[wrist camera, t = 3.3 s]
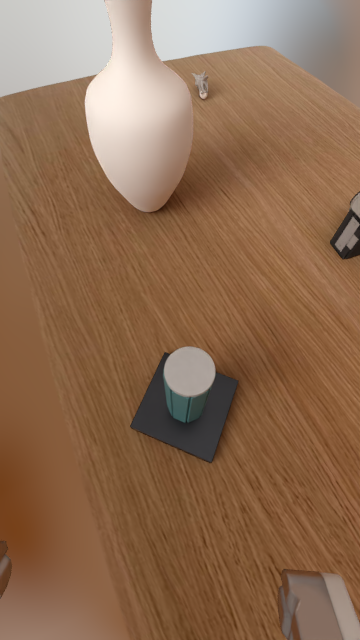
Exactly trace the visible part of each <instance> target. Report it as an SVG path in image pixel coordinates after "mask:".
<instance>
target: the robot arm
mask: <svg viewBox="0 0 360 640" xmlns="http://www.w3.org/2000/svg"><path fill="white" fill-rule="evenodd" d="M7 550H8V547H7V544H6V541H0V598H1V597H2V595H3V593H4V591H5V589H6V587H7V585H8V582H9V578H10V576H11V569H12V564H11V559H10V558H9V557H8V556H7V555H6V554H5V553H6V551H7ZM281 580H282V586H280V587H279V590H278V613H279V621H280V627H281V631H282V633H283V634H284V635H285V637H286V638H287V640H360V623H359V621H358V618H357V615H356V613H355V610H354V607H353V605H352V602H351V599H350V597H349V594H348V591H347V589H346V586H345V583H344V581H343V579H342V578H341V576H340V575H338V574H333V573H321V572H315V571H302V570H290V569H283V570H282V574H281Z"/></svg>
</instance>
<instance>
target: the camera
mask: <svg viewBox="0 0 360 640" xmlns="http://www.w3.org/2000/svg"><path fill="white" fill-rule="evenodd" d="M330 244H331V245H332V247H333V248H334V249H335V250H336V251H337V253H338V254H339V255H340V256H341V258H342V259H345V258H346V259H347V258H350V257H353V256H356V255H359V254H360V192H358V193H357V194H356V195H355V196H354V197H353V198H352V200H351V202H350V208H349V212H348V214H347V215H346V217H345V219H344V220H343V222H342V223H341V225H340V227H339V228H338V230H337V231H336V233H335V235H334V236H333V238H332V239H331V241H330Z"/></svg>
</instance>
